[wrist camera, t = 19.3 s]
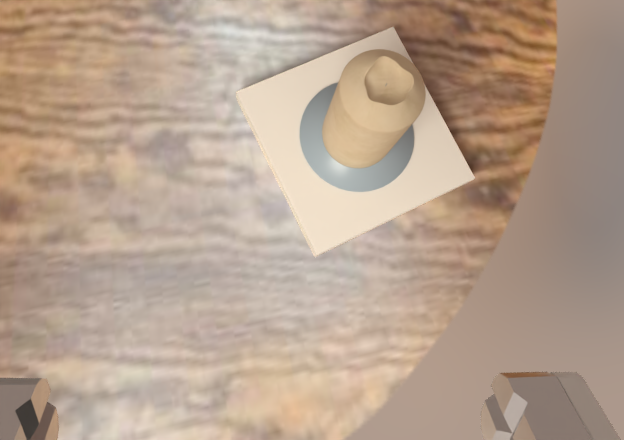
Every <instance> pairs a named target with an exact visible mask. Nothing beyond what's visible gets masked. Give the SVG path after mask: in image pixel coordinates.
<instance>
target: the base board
mask: <svg viewBox="0 0 624 440" xmlns="http://www.w3.org/2000/svg"><path fill="white" fill-rule="evenodd" d="M375 49H384V50H390V51H393V52H396V53H399V54H401V55H402V56H404V57H406V58H407V59H408V60H410V61H411V62H412V60H411V58H410V56H409V55H408V53H407V51H406V49H405V47H404V45H403V43H402V42H401V40H400V38H399V36H398V34H397V32H396V30H395V29H394V27H391V28H389V29H386V30H384V31H382V32H379V33H377V34H374V35H372V36H370V37H367V38H365V39H362V40H360V41H357V42H355V43H353V44H350V45H348V46H345V47H343V48H341V49H338V50H336V51H333V52H331V53H329V54H326V55H324V56H321V57H319V58H316V59H314V60H312V61H309V62H307V63H304V64H302V65H300V66H297V67H295V68H292V69H290V70H288V71H285V72H283V73H280V74H278V75H275V76H273V77H271V78H268V79H266V80H263V81H261V82H259V83H256V84H254V85H251V86H249V87H247V88H244V89H242V90H239V91H237V92H236V99H237V101H238V103H239V105H240V107H241V109H242V112H243V114H244V116H245V118H246V120H247V122H248V124H249V126H250V128H251V130H252V132H253V134H254V136H255V138H256V140H257V142H258V144H259V146H260V148H261V150H262V152H263V154H264V156H265V158H266V160H267V162H268V164H269V166H270V168H271V170H272V172H273V174H274V176H275V178H276V180H277V182H278V184H279V186H280V188H281V190H282V192H283V194H284V196H285V198H286V200H287V202H288V205H289V207H290V209H291V211H292V213H293V215H294V217H295V219H296V221H297V223H298V225H299V227H300V229H301V231H302V233H303V235H304V237H305V239H306V241H307V243H308V245H309V247H310V249H311V251H312V253H313V255H314V257H317V256H319V255H321V254H323V253H325V252H327V251H329V250H331V249H333V248H335V247H337V246H339V245H341V244H344V243H346V242H348V241H350V240H352V239H354V238H356V237H358V236H360V235H362V234H364V233H366V232H368V231H370V230H372V229H374V228H376V227H378V226H380V225H382V224H385V223H387V222H389V221H391V220H393V219H395V218H397V217H399V216H401V215H403V214H405V213H407V212H409V211H411V210H413V209H415V208H417V207H419V206H421V205H424V204H426V203H428V202H430V201H432V200H434V199H436V198H438V197H440V196H442V195H444V194H446V193H448V192H450V191H452V190H454V189H456V188H458V187H460V186H462V185H465V184H467V183H468V182H470V181H472V180H473V179H475V177H474V175H473V173H472V171H471V170H470V168H469V166H468V164H467V162H466V160H465V158H464V157H463V155H462V153H461V151H460V149H459V147H458V145H457V144H456V142H455V140H454V138H453V136H452V134H451V132H450V131H449V129H448V127H447V125H446V123H445V121H444V120H443V118H442V116H441V114H440V112H439V110H438V108H437V107H436V105H435V103H434V101H433V99H432V97H431V95H430V94H429V92H428V90H427V88H426V86H425V92H426V96H425V103H424V106H423V109H422V111H421V113H420V115H419V116H418V118H417V119H416V120H415V121H414V122H413V124H412V125H411V126H410V127H409V128H408V130H407V131H406V132H405V133H404V134H403V136H402V137H401V138H400V139H399V140H398V142H397V143H396V144H395V145H394V146H393V148H392V149H391V150H390V151H389V152H388V154H387V155H386V156H385V157H384V158H383V159H382V160H381V161H379V162H378V163H376V164H374V165H372V166H370V167H366V168H350V167H347V166H344V165H342V164H340V163H338V162H337V161H336V160H334V159H333V158H332V157H331V155H330V154H329V153H328V151H327V150H326V148H325V146H324V142H323V138H322V126H323V122H324V119H325V116H326V114H327V111H328V108H329V106H330V103H331V101H332V98H333V95H334V93H335V90H336V87H337V85H338V82H339V80H340V77H341V74H342V72H343V70H344V68H345V66H346V65H347V64H348V63H349V62H350V61H351V60H352V59H353V58H354V57H355V56H357V55H359V54H361V53H363V52H365V51H369V50H375ZM412 63H413V62H412ZM424 85H425V84H424Z"/></svg>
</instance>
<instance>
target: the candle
mask: <svg viewBox="0 0 624 440" xmlns="http://www.w3.org/2000/svg"><path fill="white" fill-rule="evenodd" d="M425 96H426V92H425V85H424V81H423V78H422V76H421V74H420V72H419V71H418V69H417V68H416V67H415V65H414V64H413V63H412V62H411V61H410V60H408V59H407V58H406V57H404V56H402V55H401V54H399V53H396V52H393V51H390V50H384V49H375V50H369V51H365V52H363V53H361V54H359V55H357V56H355V57H354V58H353V59H352V60H351V61H350V62H349V63H348V64H347V65H346V66H345V68H344V70H343V72H342V74H341V77H340V80H339V82H338V85H337V87H336V90H335V93H334V95H333V98H332V101H331V103H330V106H329V108H328V111H327V114H326V116H325V119H324V122H323V126H322V138H323V142H324V146H325V148H326V150H327V151H328V153H329V154H330V155H331V157H332V158H333V159H334V160H336V161H337V162H338V163H340V164H342V165H344V166H347V167H350V168H366V167H370V166H372V165H374V164H376V163H378V162H379V161H381V160H382V159H383V158H384V157H385V156H386V155H387V154H388V152H389V151H390V150H391V149H392V148H393V146H394V145H395V144H396V143H397V142H398V140H399V139H400V138H401V137H402V136H403V134H404V133H405V132H406V131H407V130H408V128H409V127H410V126H411V125H412V124H413V122H414V121H415V120H416V119H417V118H418V116H419V115H420V113H421V111H422V109H423V106H424V103H425Z"/></svg>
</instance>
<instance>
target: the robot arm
mask: <svg viewBox="0 0 624 440" xmlns="http://www.w3.org/2000/svg"><path fill="white" fill-rule="evenodd" d="M491 387H492V389H493V391H494V395H492V396H491V397H489V398H488V399H487V400H485V402H484V405H483V407H482V411H481V431H482V436H483V439H484V440H621V439H620V438H619V436H618V435H617V433H616V431H615V429H614V428H613V426H612V424H611V423H610V421H609V420H608V418H607V416H606V415H605V413H604V411H603V410H602V408H601V406H600V405H599V403H598V401H597V400H596V398H595V397H594V395H593V393H592V392H591V390H590V388H589V387H588V385H587V384H586V382H585V380H584V379H583V377H582V376H581V375H579V374H578V373H577V372H551V373H548V372H521V373H499V374H498V375H497V376H495V378H494V380H493V382H492V384H491ZM50 393H51V389H50V387H49V384H48V381H47V379H42V378H0V440H57V438H58V431H59V423H58V414H57V410H56V407H54V406H53V405H52V404H50V403H49V402H47V401H48V398H49V395H50Z"/></svg>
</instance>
